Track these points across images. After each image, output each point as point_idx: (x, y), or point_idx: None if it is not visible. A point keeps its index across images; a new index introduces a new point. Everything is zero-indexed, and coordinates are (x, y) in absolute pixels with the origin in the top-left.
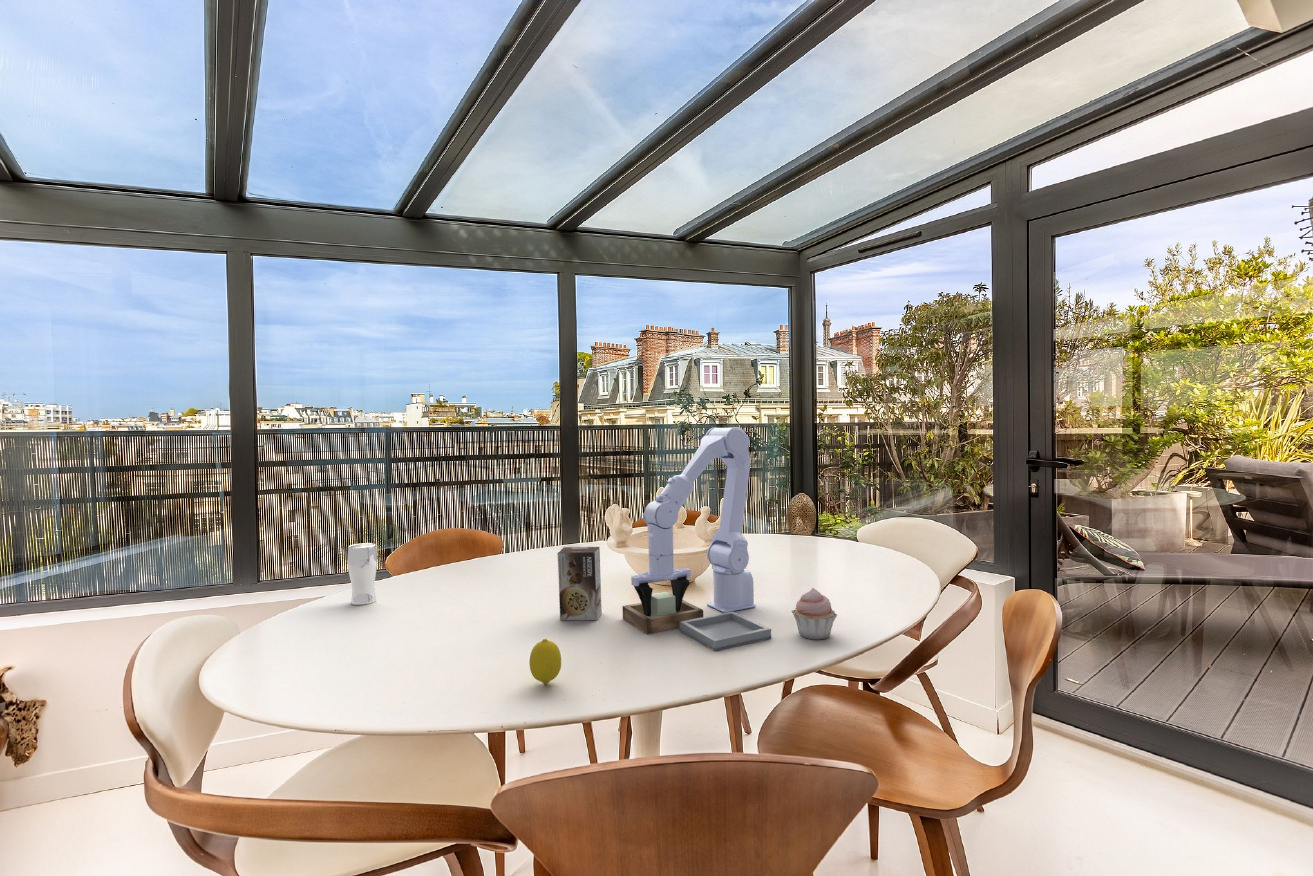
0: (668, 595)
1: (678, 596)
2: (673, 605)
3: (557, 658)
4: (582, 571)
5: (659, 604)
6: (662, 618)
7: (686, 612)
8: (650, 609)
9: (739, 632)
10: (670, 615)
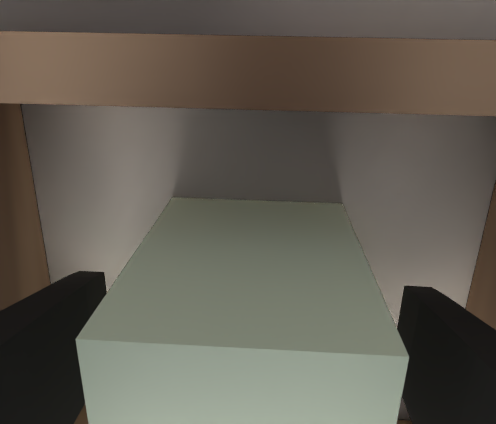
0: (157, 414)
1: (10, 367)
2: (152, 268)
3: None
4: None
5: (360, 301)
6: (451, 40)
7: (80, 48)
8: (445, 314)
9: None
10: (322, 53)
